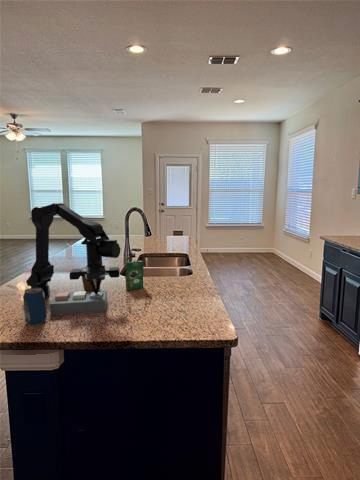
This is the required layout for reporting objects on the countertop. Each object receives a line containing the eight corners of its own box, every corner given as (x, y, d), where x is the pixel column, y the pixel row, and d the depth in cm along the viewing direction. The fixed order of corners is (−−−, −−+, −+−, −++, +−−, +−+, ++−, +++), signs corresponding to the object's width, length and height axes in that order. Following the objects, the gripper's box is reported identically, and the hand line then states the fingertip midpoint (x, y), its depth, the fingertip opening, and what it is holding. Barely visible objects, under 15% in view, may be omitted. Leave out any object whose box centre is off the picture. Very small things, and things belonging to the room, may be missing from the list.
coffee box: (141, 286, 151) (141, 259, 149) (144, 287, 149) (143, 261, 147) (125, 288, 147) (125, 261, 145) (128, 290, 145) (127, 263, 143)
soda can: (49, 317, 116) (47, 286, 114) (42, 326, 109) (39, 293, 107) (30, 318, 116) (28, 286, 114) (22, 326, 109) (19, 293, 107)
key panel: (50, 315, 118) (49, 304, 117) (57, 303, 130) (56, 293, 129) (105, 311, 121) (104, 300, 120) (107, 300, 133) (106, 290, 132)
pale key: (73, 305, 122) (72, 295, 122) (75, 301, 127) (74, 291, 126) (85, 304, 123) (84, 294, 122) (86, 300, 127) (86, 291, 127)
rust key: (56, 306, 121) (55, 296, 121) (58, 302, 126) (57, 292, 125) (67, 305, 122) (67, 295, 121) (69, 301, 126) (69, 292, 126)
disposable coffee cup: (80, 299, 135) (79, 272, 132) (81, 291, 144) (80, 266, 141) (103, 297, 137) (102, 270, 135) (103, 290, 146) (101, 265, 144)
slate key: (90, 305, 124) (90, 296, 123) (92, 301, 128) (91, 292, 127) (102, 305, 124) (101, 295, 124) (103, 301, 129) (102, 291, 128)
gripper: (65, 261, 113) (68, 302, 116) (118, 259, 116) (119, 299, 119) (70, 255, 124) (73, 292, 127) (118, 253, 127) (120, 290, 130)
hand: (96, 293), depth 125 cm, fingers closed, pressing on slate key
